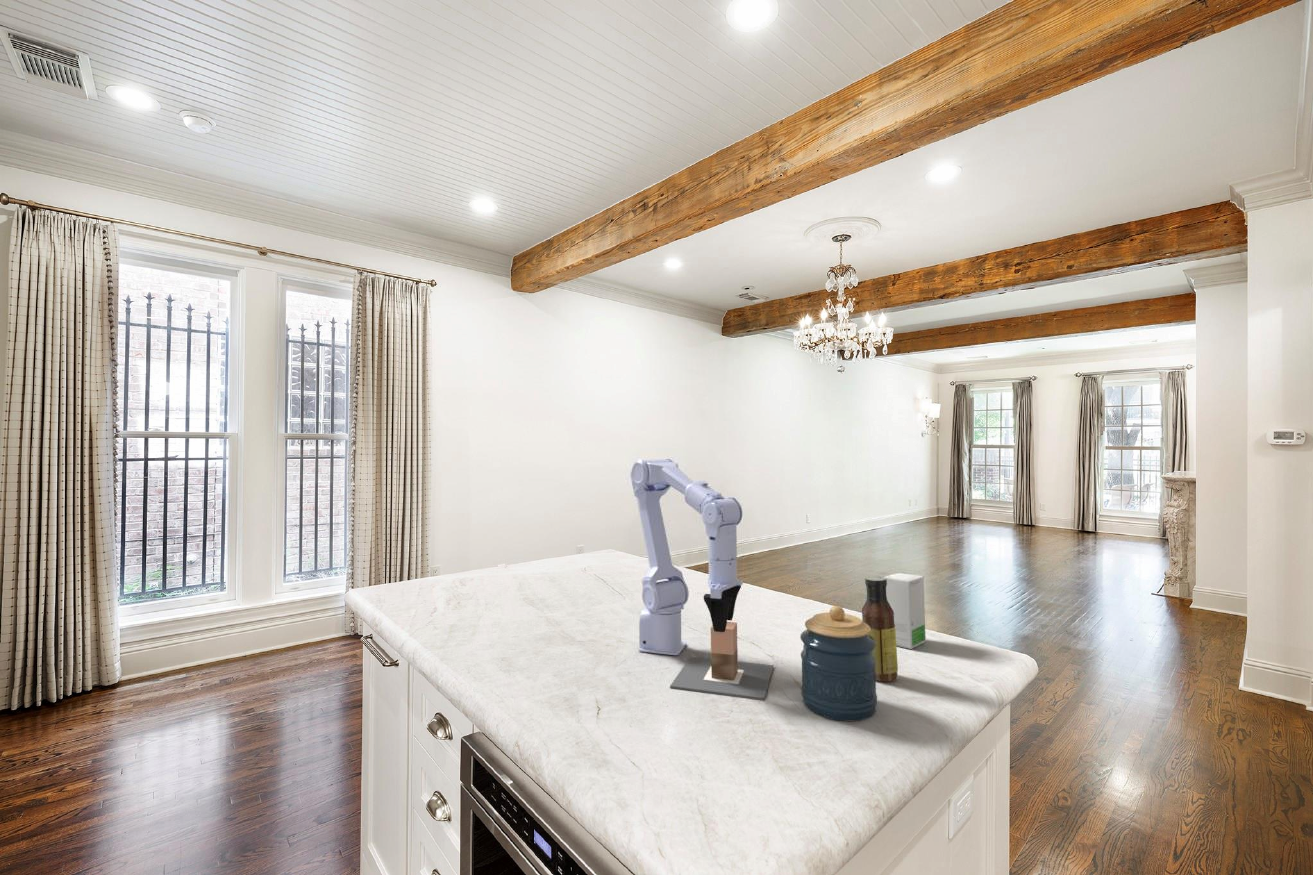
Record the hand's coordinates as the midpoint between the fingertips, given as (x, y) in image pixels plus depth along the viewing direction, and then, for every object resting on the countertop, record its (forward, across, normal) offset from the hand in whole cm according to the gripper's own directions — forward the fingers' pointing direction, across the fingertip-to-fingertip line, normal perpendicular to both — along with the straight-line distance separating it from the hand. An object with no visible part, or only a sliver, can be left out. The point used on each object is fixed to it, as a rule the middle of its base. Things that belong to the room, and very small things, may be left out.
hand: (723, 625), depth 112 cm
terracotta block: (+5, 0, 0) cm, 5 cm away
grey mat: (+10, 0, 0) cm, 10 cm away
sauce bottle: (+11, +9, -30) cm, 33 cm away
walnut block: (+10, 0, 0) cm, 10 cm away
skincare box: (+11, +32, -37) cm, 50 cm away
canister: (+11, -6, -22) cm, 25 cm away
